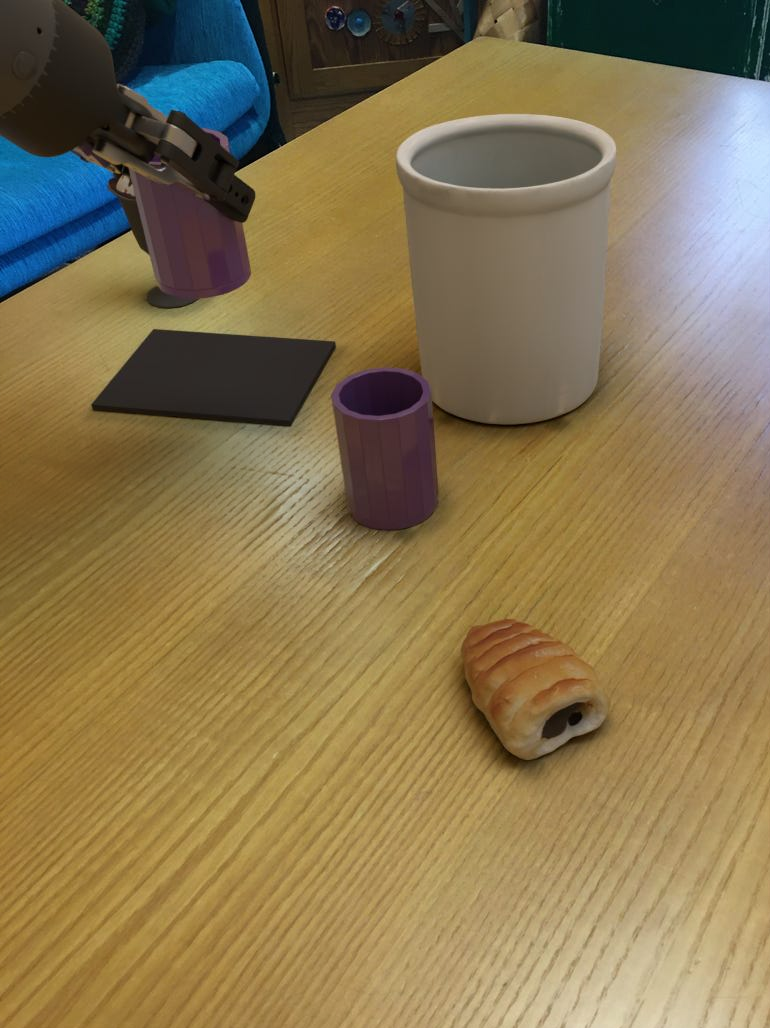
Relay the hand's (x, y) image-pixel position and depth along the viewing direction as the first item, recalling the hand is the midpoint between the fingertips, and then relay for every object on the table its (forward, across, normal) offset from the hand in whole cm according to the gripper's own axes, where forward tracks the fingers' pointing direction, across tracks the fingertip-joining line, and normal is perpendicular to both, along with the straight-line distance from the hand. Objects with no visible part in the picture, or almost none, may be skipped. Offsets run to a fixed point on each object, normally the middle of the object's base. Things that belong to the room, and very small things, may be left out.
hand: (207, 195), depth 71 cm
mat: (+14, +7, +10) cm, 19 cm away
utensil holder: (+23, -13, +1) cm, 26 cm away
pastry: (+3, -33, +21) cm, 39 cm away
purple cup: (+2, 0, +5) cm, 5 cm away
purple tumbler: (+10, -15, +14) cm, 23 cm away
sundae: (+20, +20, +4) cm, 29 cm away
